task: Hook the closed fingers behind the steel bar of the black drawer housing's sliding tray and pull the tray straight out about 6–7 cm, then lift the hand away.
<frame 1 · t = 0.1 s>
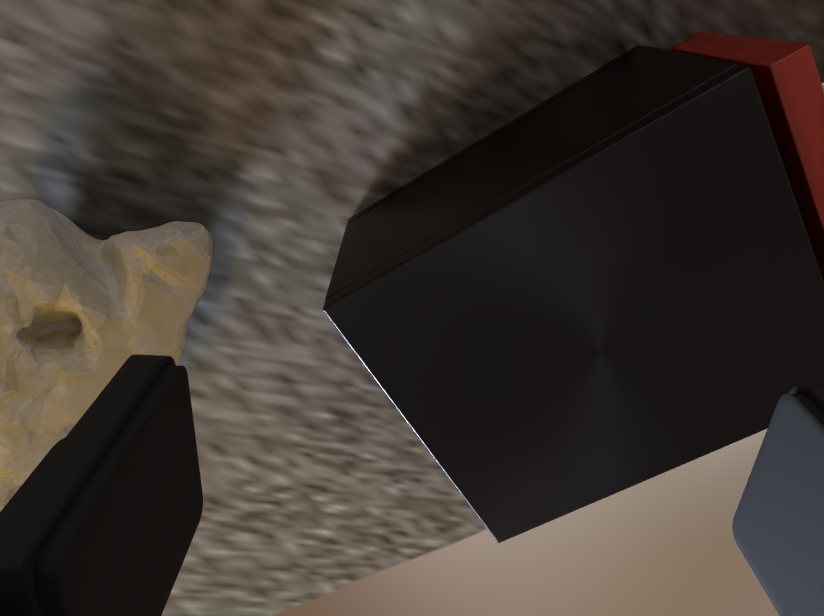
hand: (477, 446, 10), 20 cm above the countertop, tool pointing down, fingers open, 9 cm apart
black drawer housing: (546, 250, 30), on the countertop
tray: (695, 226, 24), point 5 cm above the countertop, slide at 0.8 cm
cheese: (122, 337, 32), on the countertop
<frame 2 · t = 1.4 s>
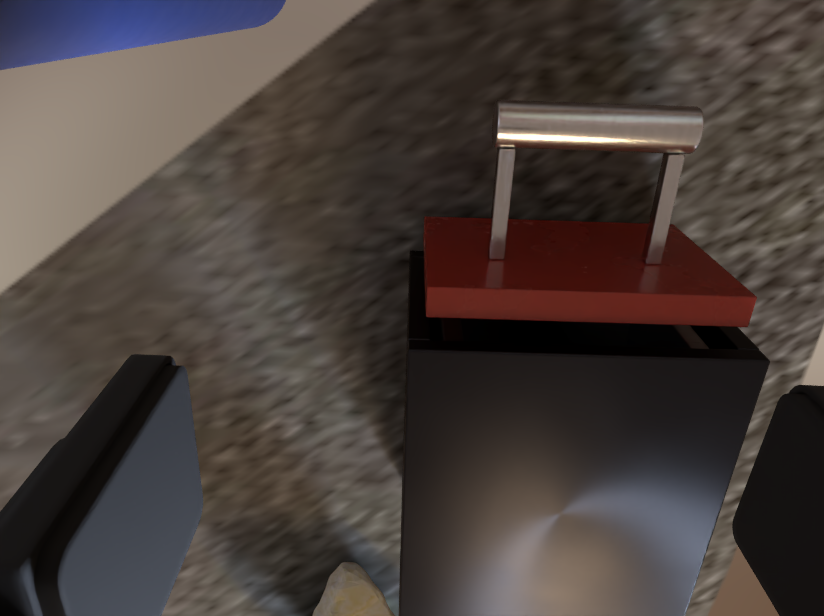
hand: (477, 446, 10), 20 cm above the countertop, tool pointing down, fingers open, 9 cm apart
black drawer housing: (523, 381, 33), on the countertop
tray: (555, 335, 27), point 5 cm above the countertop, slide at 0.8 cm
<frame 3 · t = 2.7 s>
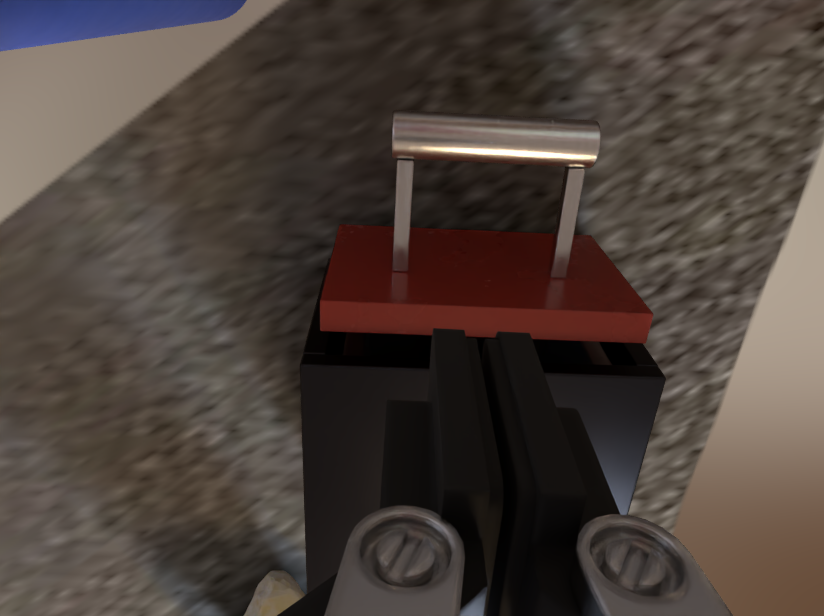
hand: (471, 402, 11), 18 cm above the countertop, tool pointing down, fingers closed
black drawer housing: (448, 389, 33), on the countertop
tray: (466, 347, 26), point 5 cm above the countertop, slide at 0.8 cm
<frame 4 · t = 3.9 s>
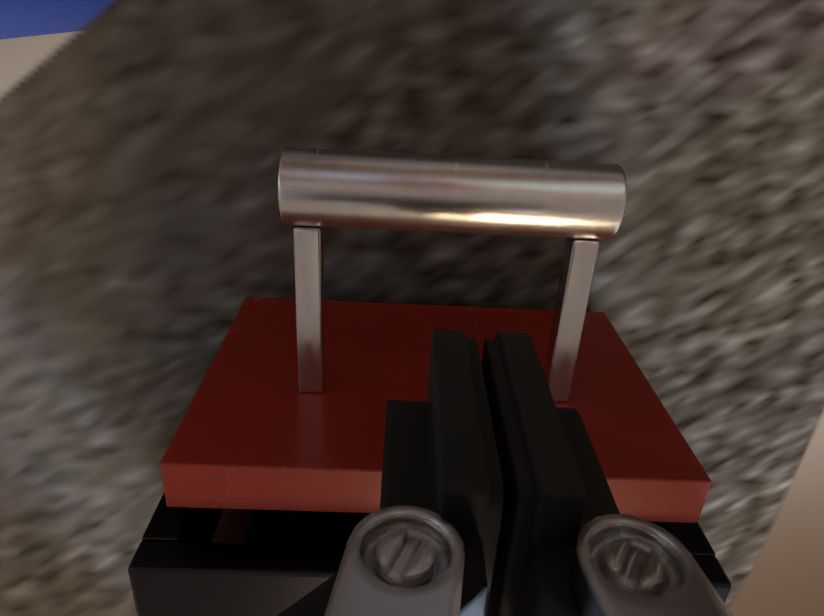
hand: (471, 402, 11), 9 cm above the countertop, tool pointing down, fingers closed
black drawer housing: (411, 503, 25), on the countertop
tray: (423, 483, 18), point 5 cm above the countertop, slide at 0.8 cm
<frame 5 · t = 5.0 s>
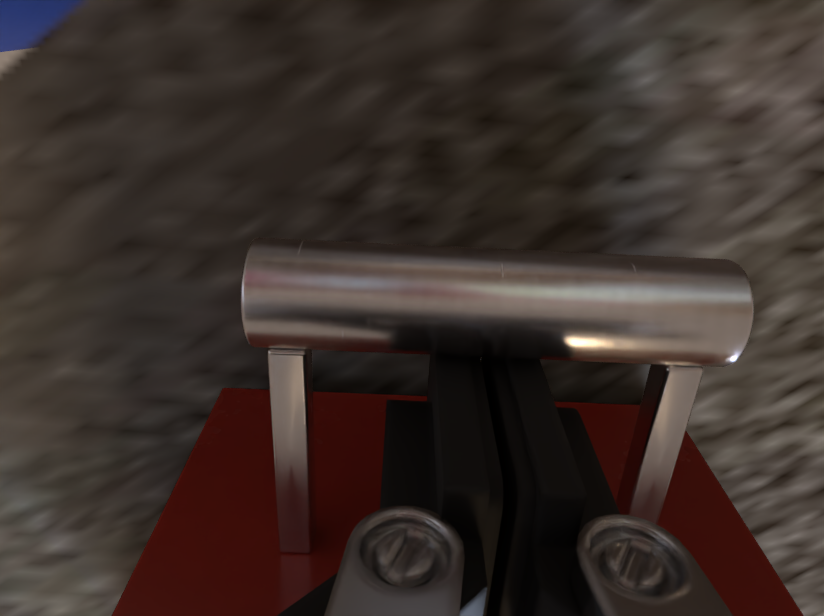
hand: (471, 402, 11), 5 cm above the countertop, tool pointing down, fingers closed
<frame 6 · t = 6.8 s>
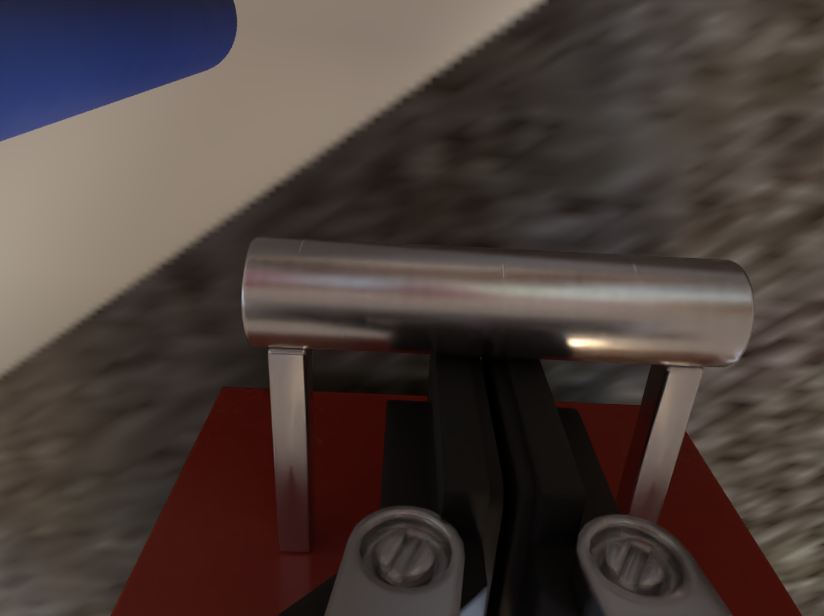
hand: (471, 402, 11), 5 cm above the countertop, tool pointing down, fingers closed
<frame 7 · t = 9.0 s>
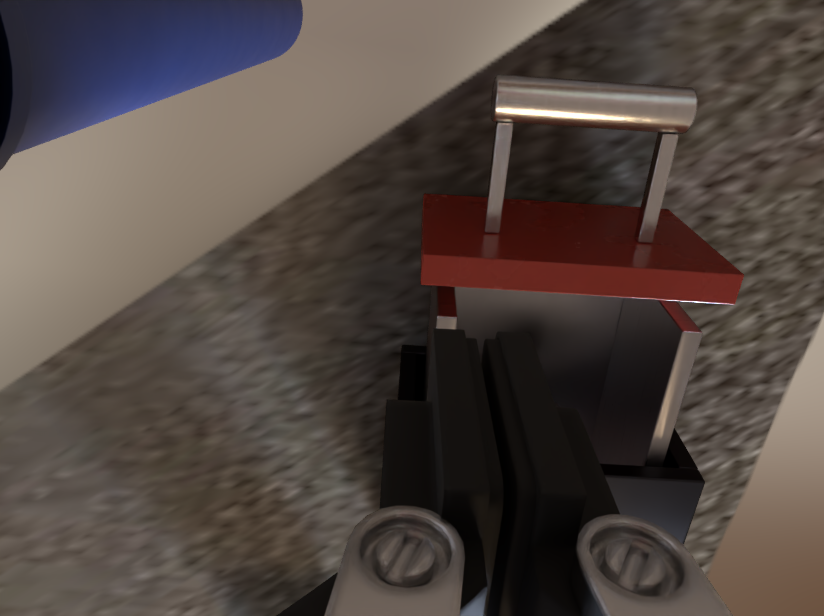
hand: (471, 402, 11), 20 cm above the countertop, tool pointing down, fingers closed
black drawer housing: (501, 458, 37), on the countertop
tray: (547, 312, 27), point 5 cm above the countertop, slide at 7.4 cm
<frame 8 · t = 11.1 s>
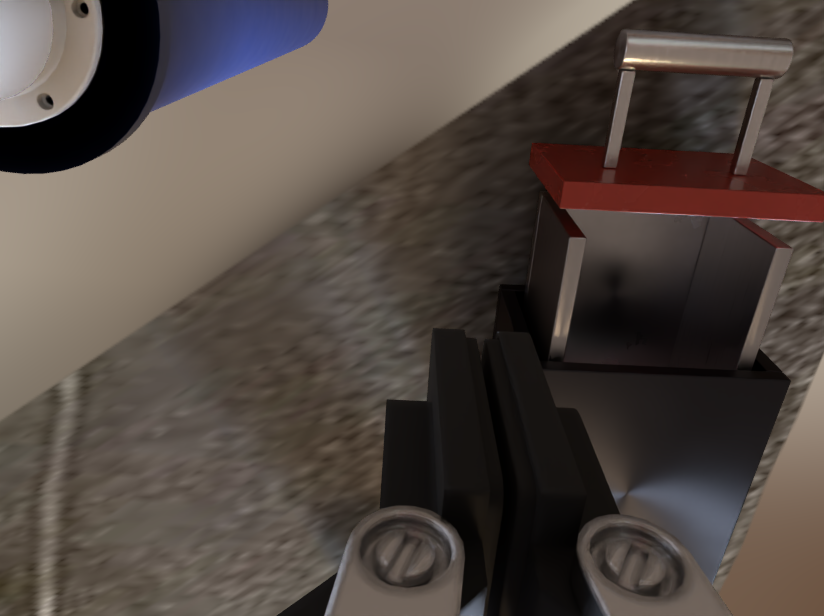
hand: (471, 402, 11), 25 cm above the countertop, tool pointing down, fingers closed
black drawer housing: (581, 389, 41), on the countertop
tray: (647, 242, 31), point 5 cm above the countertop, slide at 7.4 cm
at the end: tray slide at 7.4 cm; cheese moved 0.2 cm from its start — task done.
